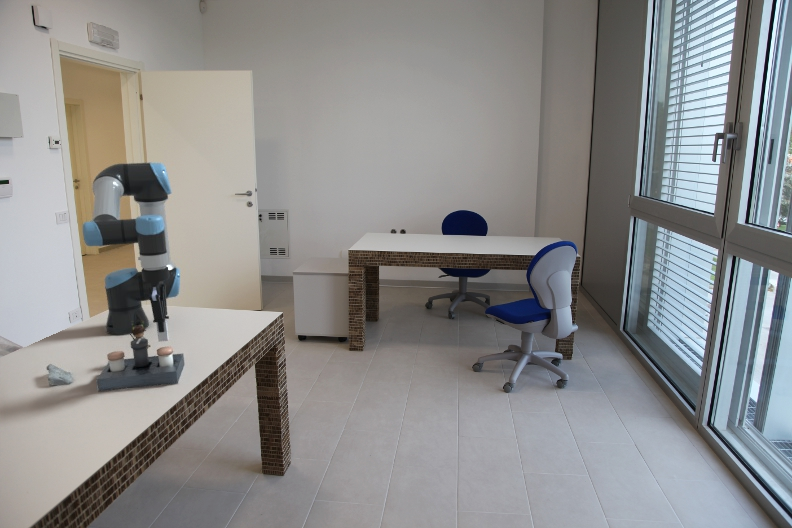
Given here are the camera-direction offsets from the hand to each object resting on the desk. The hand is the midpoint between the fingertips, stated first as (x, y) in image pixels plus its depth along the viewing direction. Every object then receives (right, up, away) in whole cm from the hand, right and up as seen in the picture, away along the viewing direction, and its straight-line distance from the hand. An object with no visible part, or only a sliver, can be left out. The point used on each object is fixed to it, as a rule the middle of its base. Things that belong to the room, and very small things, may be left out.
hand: (163, 340), depth 163 cm
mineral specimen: (-32, -13, 0) cm, 35 cm away
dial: (-7, -7, 0) cm, 10 cm away
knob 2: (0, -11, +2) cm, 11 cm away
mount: (-7, -12, +1) cm, 13 cm away
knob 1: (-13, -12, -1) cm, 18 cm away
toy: (-12, -9, +13) cm, 20 cm away
